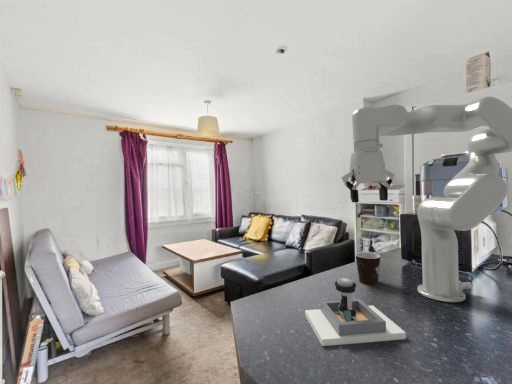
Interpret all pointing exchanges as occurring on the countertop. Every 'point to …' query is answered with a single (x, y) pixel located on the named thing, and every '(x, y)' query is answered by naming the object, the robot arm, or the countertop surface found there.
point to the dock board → (352, 325)
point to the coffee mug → (368, 267)
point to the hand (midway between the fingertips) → (369, 201)
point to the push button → (346, 298)
